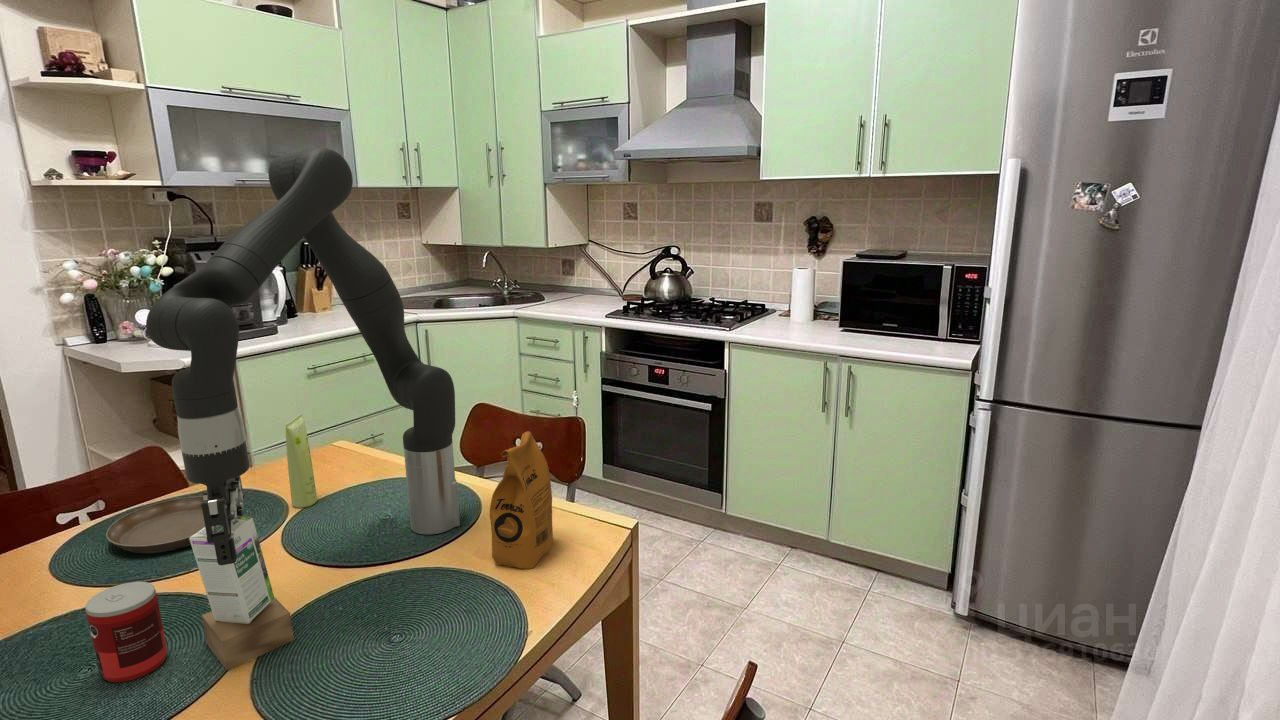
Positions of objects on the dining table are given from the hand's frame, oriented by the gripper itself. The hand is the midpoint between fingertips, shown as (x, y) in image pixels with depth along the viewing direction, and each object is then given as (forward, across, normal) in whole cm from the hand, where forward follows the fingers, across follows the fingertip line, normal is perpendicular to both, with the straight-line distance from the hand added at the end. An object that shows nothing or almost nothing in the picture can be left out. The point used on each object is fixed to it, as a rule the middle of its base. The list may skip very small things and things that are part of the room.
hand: (232, 548), depth 96 cm
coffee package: (+16, +10, -44) cm, 48 cm away
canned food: (+16, +1, +14) cm, 21 cm away
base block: (+16, 0, 0) cm, 16 cm away
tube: (+16, +49, -5) cm, 52 cm away
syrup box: (+11, +1, 0) cm, 11 cm away
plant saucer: (+16, +45, +18) cm, 51 cm away
